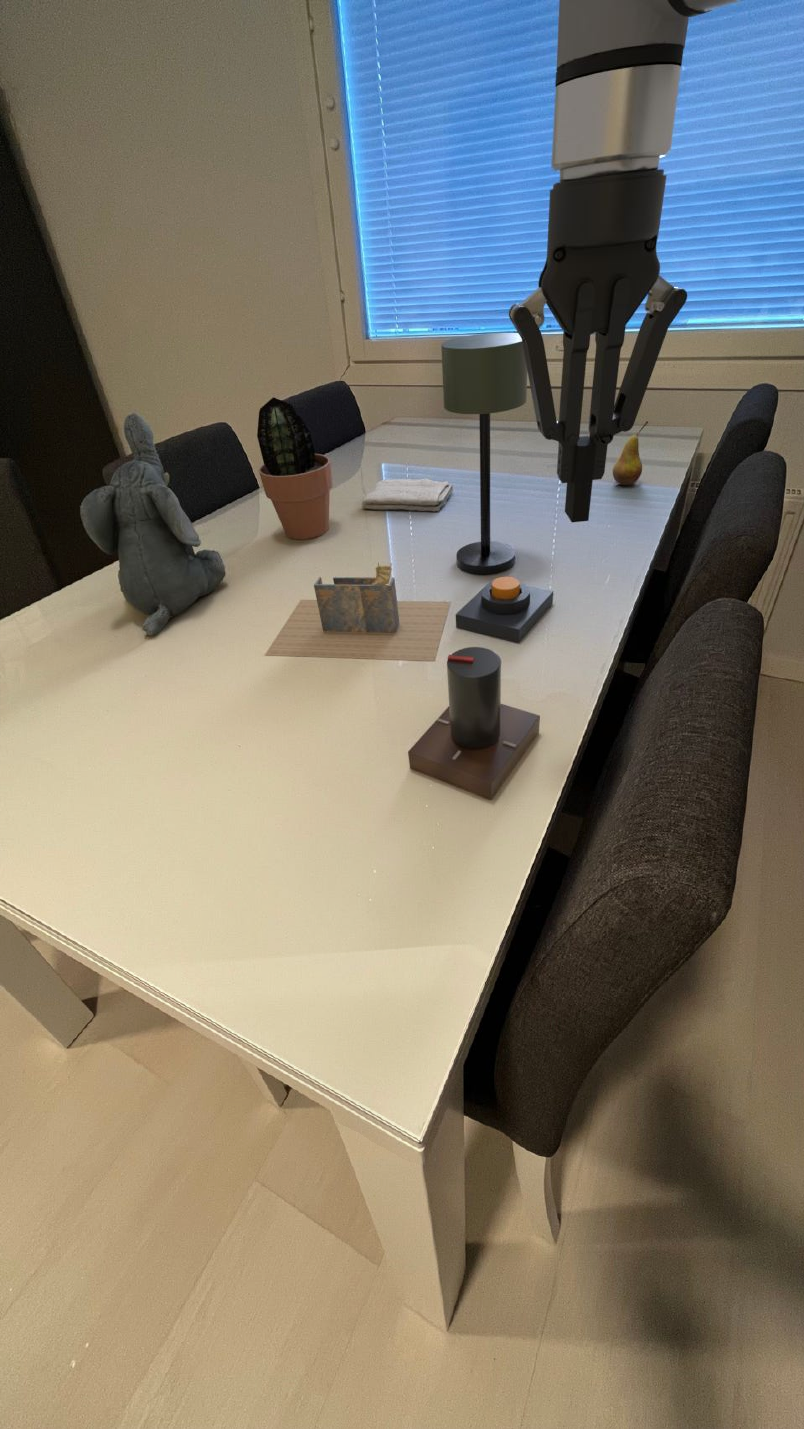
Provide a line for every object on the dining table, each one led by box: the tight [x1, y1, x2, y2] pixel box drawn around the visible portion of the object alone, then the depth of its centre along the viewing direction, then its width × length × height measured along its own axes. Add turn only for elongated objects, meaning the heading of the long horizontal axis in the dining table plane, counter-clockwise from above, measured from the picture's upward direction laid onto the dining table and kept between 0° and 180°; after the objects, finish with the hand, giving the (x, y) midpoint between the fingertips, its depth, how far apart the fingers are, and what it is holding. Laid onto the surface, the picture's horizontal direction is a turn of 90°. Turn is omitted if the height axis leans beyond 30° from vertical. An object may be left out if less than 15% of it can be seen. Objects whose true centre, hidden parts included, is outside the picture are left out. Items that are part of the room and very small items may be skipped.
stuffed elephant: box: [79, 412, 226, 637], centre depth 96 cm, size 19×21×27 cm
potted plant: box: [256, 396, 334, 540], centre depth 115 cm, size 14×14×25 cm
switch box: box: [455, 578, 555, 644], centre depth 88 cm, size 10×12×4 cm
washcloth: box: [361, 478, 454, 512], centre depth 129 cm, size 12×18×3 cm, turn 73°
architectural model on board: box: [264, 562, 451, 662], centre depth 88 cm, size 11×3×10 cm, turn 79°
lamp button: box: [491, 576, 521, 599], centre depth 87 cm, size 4×4×2 cm
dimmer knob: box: [446, 646, 502, 749], centre depth 63 cm, size 5×5×10 cm
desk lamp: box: [440, 332, 528, 576], centre depth 94 cm, size 12×12×33 cm
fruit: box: [612, 420, 649, 486], centre depth 123 cm, size 6×6×12 cm
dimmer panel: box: [407, 703, 541, 801], centre depth 67 cm, size 10×12×3 cm
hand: (576, 515), depth 55 cm, fingers closed
